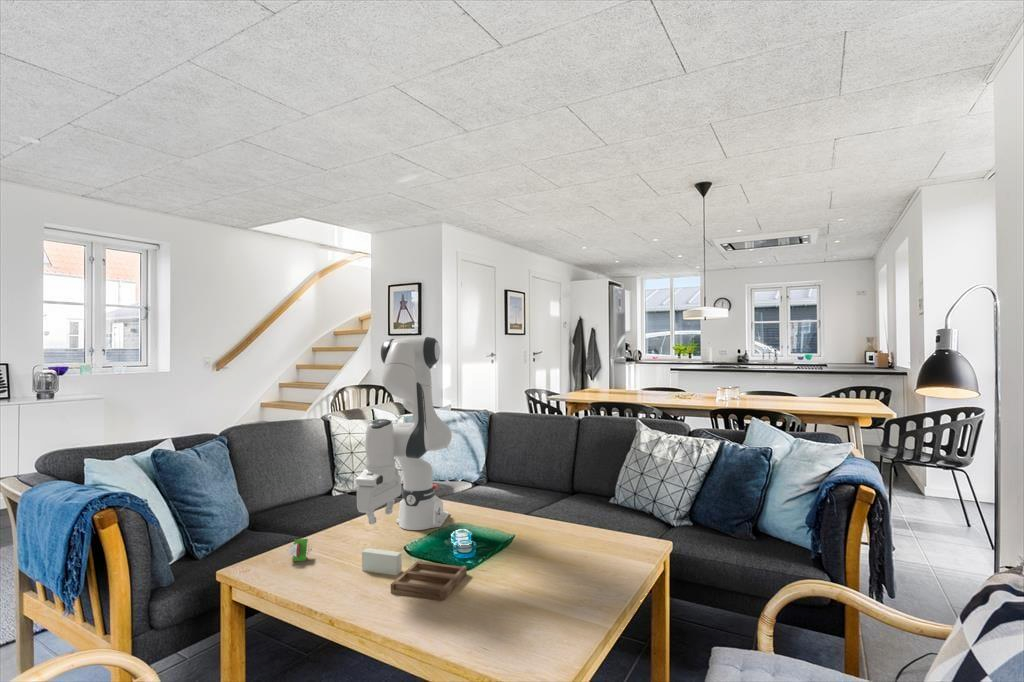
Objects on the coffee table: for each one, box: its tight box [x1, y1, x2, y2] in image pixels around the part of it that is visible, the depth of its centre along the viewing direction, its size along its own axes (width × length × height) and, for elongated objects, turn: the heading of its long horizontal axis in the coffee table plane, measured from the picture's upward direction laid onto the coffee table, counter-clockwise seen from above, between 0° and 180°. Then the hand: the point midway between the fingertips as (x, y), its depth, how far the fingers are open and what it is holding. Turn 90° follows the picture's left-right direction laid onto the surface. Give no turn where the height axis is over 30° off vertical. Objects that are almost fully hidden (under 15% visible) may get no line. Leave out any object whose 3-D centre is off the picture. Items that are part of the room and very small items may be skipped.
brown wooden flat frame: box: [390, 559, 468, 602], centre depth 159 cm, size 17×16×2 cm
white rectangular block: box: [361, 547, 403, 576], centre depth 167 cm, size 3×12×6 cm, turn 73°
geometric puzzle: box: [287, 538, 313, 562], centre depth 176 cm, size 7×7×8 cm
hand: (380, 518), depth 167 cm, fingers open, 8 cm apart
